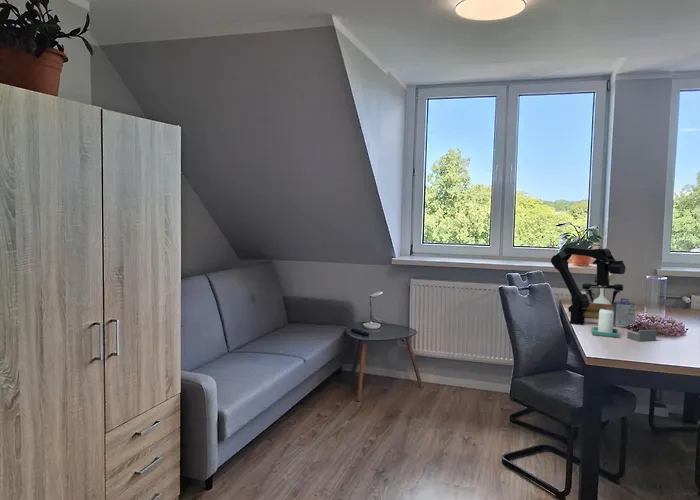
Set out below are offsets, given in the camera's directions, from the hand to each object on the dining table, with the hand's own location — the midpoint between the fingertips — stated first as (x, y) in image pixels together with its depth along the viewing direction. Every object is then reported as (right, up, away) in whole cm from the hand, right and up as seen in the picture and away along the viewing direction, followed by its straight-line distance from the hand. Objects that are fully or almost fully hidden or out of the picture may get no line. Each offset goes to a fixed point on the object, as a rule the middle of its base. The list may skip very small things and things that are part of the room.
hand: (602, 303), depth 276 cm
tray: (-5, -14, -13) cm, 19 cm away
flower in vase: (+30, -9, +64) cm, 71 cm away
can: (-5, -13, -12) cm, 19 cm away
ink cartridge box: (+14, -13, +7) cm, 20 cm away
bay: (+8, -15, -21) cm, 27 cm away
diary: (+15, -11, +34) cm, 39 cm away
